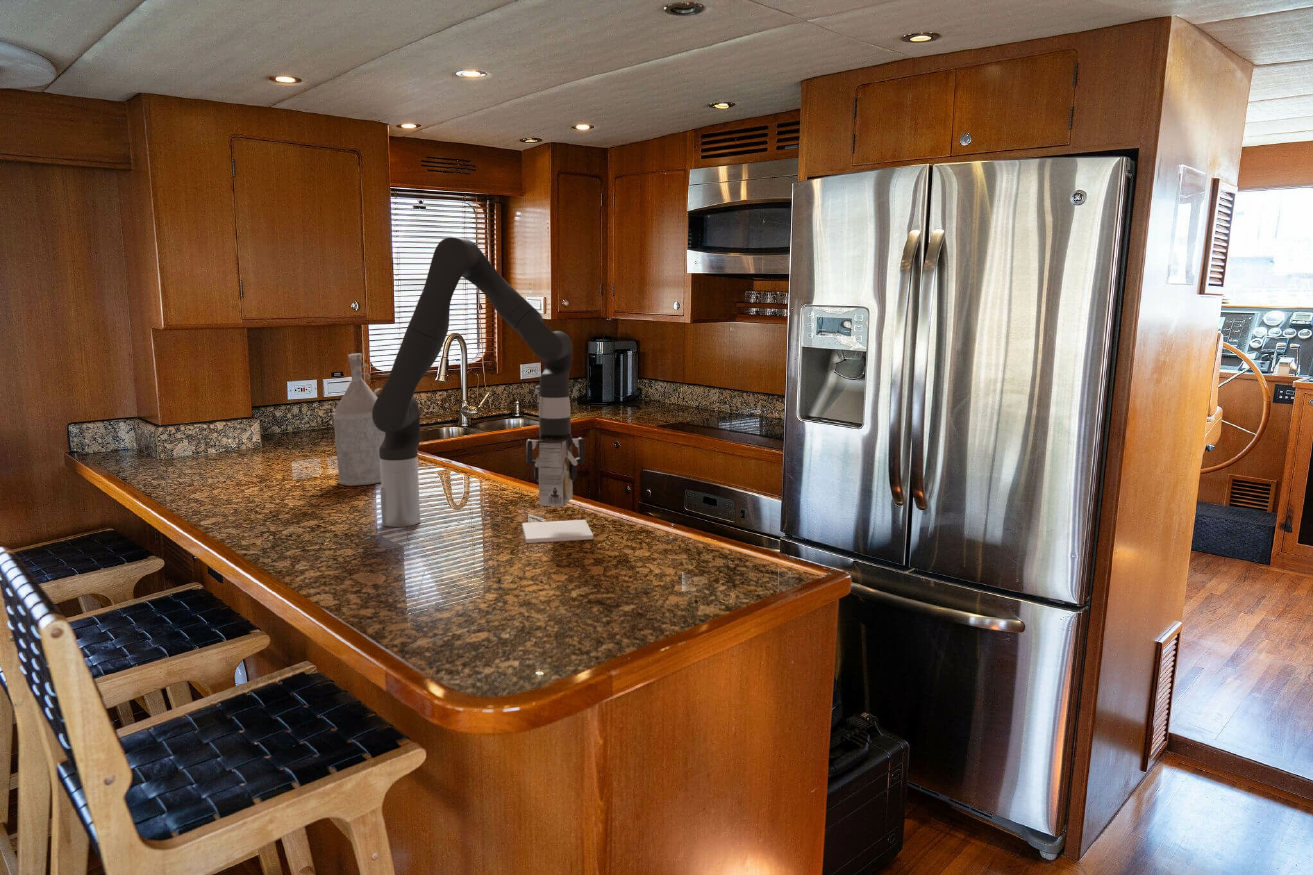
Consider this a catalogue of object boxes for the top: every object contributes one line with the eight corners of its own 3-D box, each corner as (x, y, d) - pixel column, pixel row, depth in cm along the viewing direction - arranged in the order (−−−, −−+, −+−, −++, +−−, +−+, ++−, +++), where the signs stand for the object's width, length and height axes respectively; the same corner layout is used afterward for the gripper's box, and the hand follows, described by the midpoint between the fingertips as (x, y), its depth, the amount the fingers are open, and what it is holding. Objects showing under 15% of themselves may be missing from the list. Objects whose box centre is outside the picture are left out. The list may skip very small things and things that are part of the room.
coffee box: (548, 496, 215) (547, 433, 213) (573, 497, 215) (572, 434, 212) (538, 505, 207) (537, 440, 204) (564, 507, 206) (563, 441, 203)
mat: (526, 543, 204) (526, 538, 203) (522, 526, 217) (522, 523, 217) (593, 539, 207) (593, 535, 207) (585, 523, 220) (585, 519, 220)
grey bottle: (402, 479, 269) (395, 352, 261) (351, 489, 256) (343, 355, 248) (379, 473, 277) (373, 350, 270) (329, 482, 264) (321, 353, 257)
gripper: (526, 418, 202) (527, 485, 204) (586, 416, 205) (587, 482, 208) (523, 413, 209) (525, 478, 212) (582, 411, 212) (582, 476, 215)
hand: (555, 480), depth 210 cm, fingers closed on coffee box, 8 cm apart
